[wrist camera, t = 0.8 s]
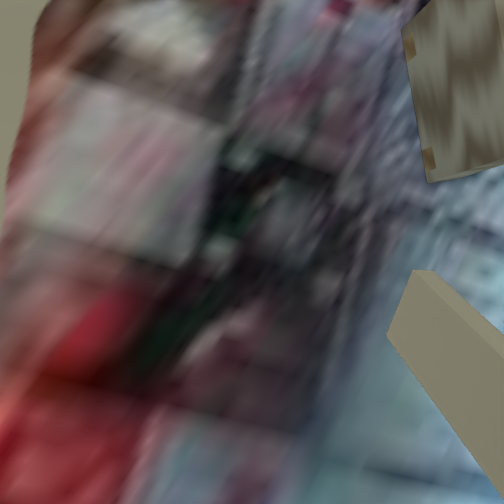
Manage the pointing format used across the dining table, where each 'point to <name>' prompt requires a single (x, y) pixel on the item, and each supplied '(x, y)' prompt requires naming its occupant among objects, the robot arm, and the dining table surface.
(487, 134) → the base
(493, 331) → the robot arm
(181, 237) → the dining table surface
